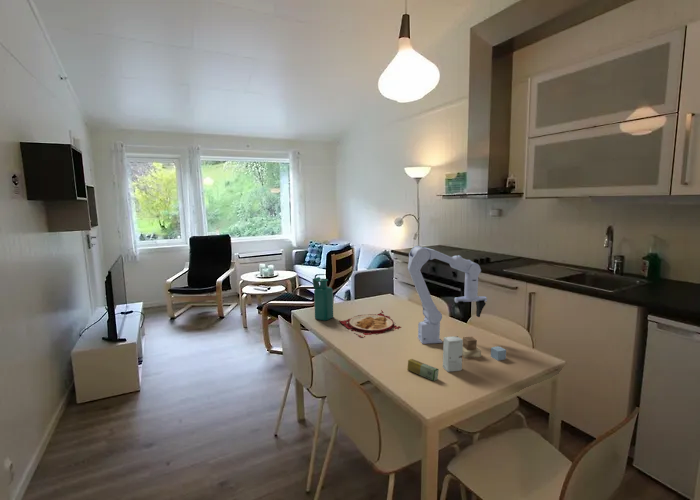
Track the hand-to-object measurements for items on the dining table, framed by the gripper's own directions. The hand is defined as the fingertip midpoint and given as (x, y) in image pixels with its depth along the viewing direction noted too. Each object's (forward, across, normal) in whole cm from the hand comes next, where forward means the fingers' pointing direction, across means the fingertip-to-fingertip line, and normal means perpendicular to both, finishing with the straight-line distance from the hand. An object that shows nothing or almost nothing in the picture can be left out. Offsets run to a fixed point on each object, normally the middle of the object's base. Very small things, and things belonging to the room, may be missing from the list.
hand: (470, 316), depth 165 cm
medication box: (+11, -32, -31) cm, 46 cm away
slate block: (+10, +3, -21) cm, 24 cm away
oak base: (+11, -7, -16) cm, 20 cm away
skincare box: (+11, -19, -28) cm, 35 cm away
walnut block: (+8, -7, -16) cm, 19 cm away
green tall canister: (+11, -67, +38) cm, 78 cm away
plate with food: (+11, -42, +23) cm, 49 cm away
